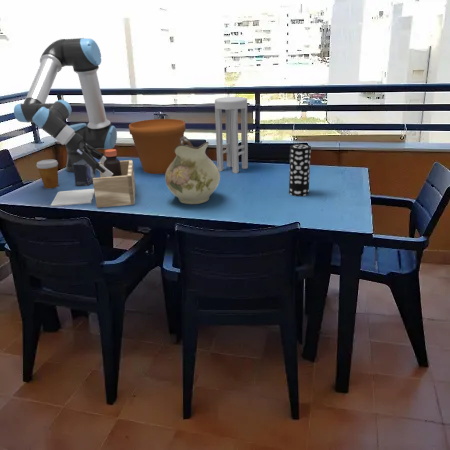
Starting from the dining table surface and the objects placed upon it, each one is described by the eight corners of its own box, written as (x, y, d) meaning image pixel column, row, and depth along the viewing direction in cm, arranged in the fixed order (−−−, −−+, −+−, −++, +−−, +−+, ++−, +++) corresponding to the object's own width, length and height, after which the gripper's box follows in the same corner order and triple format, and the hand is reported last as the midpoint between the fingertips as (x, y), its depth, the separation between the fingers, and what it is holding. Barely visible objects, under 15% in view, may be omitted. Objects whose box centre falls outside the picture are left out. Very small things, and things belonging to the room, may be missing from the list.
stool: (253, 167, 226) (252, 97, 213) (237, 174, 214) (236, 101, 201) (227, 164, 234) (226, 96, 221) (211, 171, 222) (208, 100, 209)
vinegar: (118, 192, 195) (113, 147, 187) (127, 195, 190) (121, 150, 183) (105, 196, 190) (98, 150, 183) (113, 199, 186) (107, 153, 178)
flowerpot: (165, 159, 247) (161, 117, 238) (199, 167, 229) (196, 122, 220) (123, 170, 229) (117, 124, 220) (156, 179, 211) (151, 130, 202)
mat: (58, 192, 196) (58, 191, 196) (95, 189, 199) (94, 188, 199) (50, 206, 180) (50, 205, 180) (90, 203, 182) (90, 201, 182)
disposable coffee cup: (66, 184, 208) (62, 160, 203) (51, 190, 200) (46, 165, 195) (51, 182, 212) (46, 158, 207) (36, 188, 204) (31, 163, 199)
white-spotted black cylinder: (296, 197, 181) (298, 149, 173) (285, 192, 188) (286, 146, 180) (312, 194, 185) (315, 147, 177) (300, 188, 191) (302, 143, 184)
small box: (88, 186, 205) (84, 164, 201) (75, 185, 206) (71, 164, 202) (98, 179, 214) (95, 158, 210) (86, 179, 215) (82, 158, 211)
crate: (102, 187, 202) (98, 162, 197) (135, 185, 204) (132, 159, 199) (96, 207, 177) (92, 179, 172) (134, 204, 179) (131, 176, 175)
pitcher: (200, 212, 168) (197, 147, 159) (153, 202, 180) (147, 142, 171) (230, 195, 186) (229, 137, 177) (186, 188, 198) (182, 132, 188)
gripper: (69, 139, 190) (108, 171, 197) (58, 152, 167) (104, 187, 175) (79, 126, 188) (119, 158, 196) (70, 137, 166) (116, 173, 173)
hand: (112, 172), depth 185 cm, fingers open, 13 cm apart
